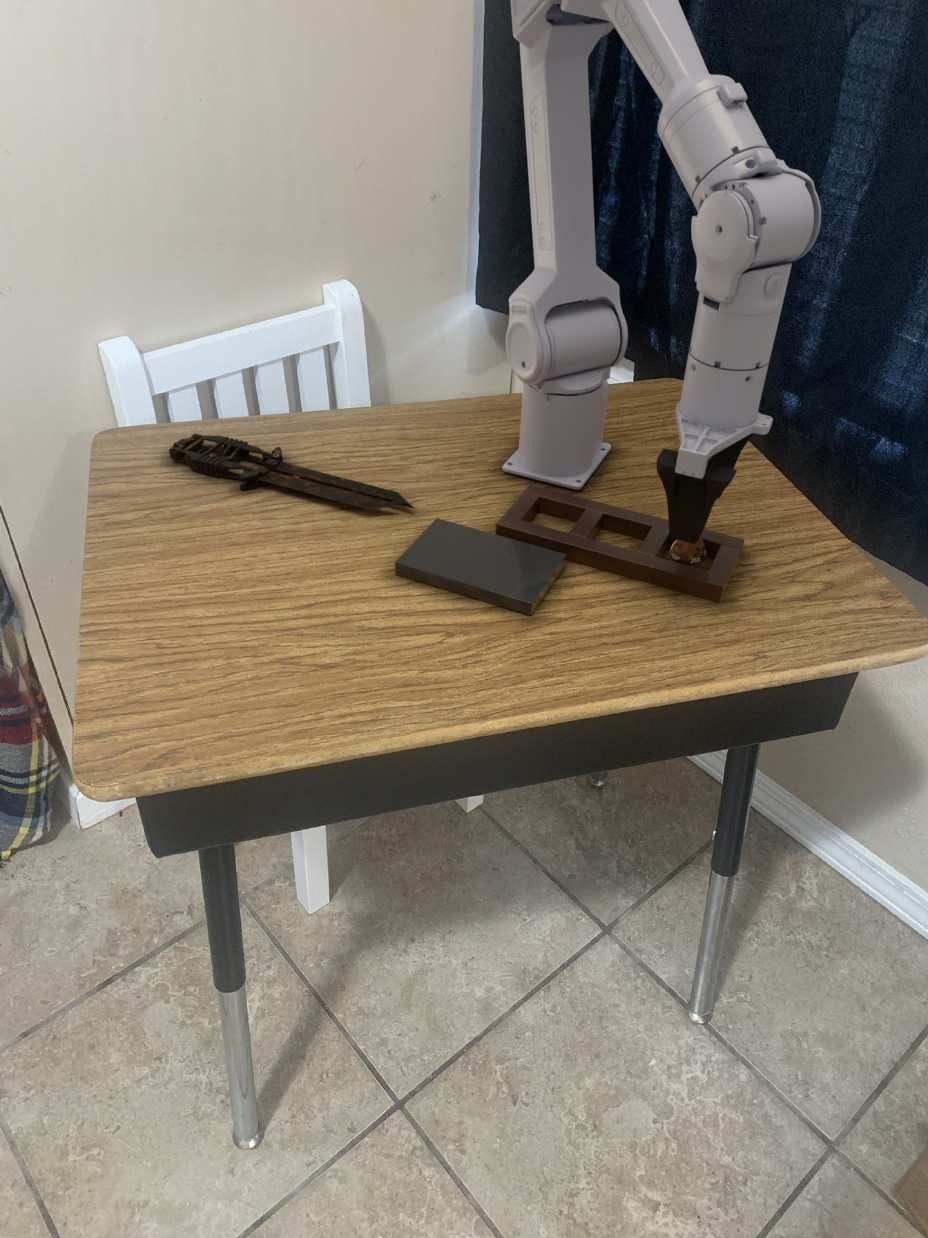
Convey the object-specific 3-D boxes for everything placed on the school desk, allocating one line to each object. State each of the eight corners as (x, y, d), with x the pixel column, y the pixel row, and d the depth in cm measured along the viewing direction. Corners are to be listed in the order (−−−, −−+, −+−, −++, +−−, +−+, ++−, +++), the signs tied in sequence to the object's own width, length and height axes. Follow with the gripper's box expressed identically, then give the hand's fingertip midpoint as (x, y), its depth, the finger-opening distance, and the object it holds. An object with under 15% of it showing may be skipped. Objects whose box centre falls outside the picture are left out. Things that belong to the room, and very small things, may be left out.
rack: (528, 498, 90) (529, 483, 89) (741, 554, 83) (744, 539, 82) (495, 539, 84) (496, 523, 83) (719, 602, 78) (723, 586, 77)
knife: (423, 507, 88) (423, 494, 87) (383, 541, 84) (383, 527, 83) (207, 435, 98) (205, 422, 97) (161, 462, 93) (159, 449, 92)
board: (436, 529, 85) (436, 517, 85) (565, 565, 81) (566, 554, 81) (394, 574, 80) (394, 562, 79) (531, 615, 76) (532, 603, 75)
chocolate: (676, 576, 81) (684, 535, 78) (663, 561, 82) (671, 521, 80) (708, 570, 82) (717, 529, 79) (694, 555, 83) (703, 515, 81)
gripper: (764, 405, 64) (724, 575, 72) (803, 331, 74) (764, 486, 83) (659, 383, 66) (633, 550, 75) (711, 314, 77) (683, 467, 85)
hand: (696, 515), depth 79 cm, fingers open, 7 cm apart
